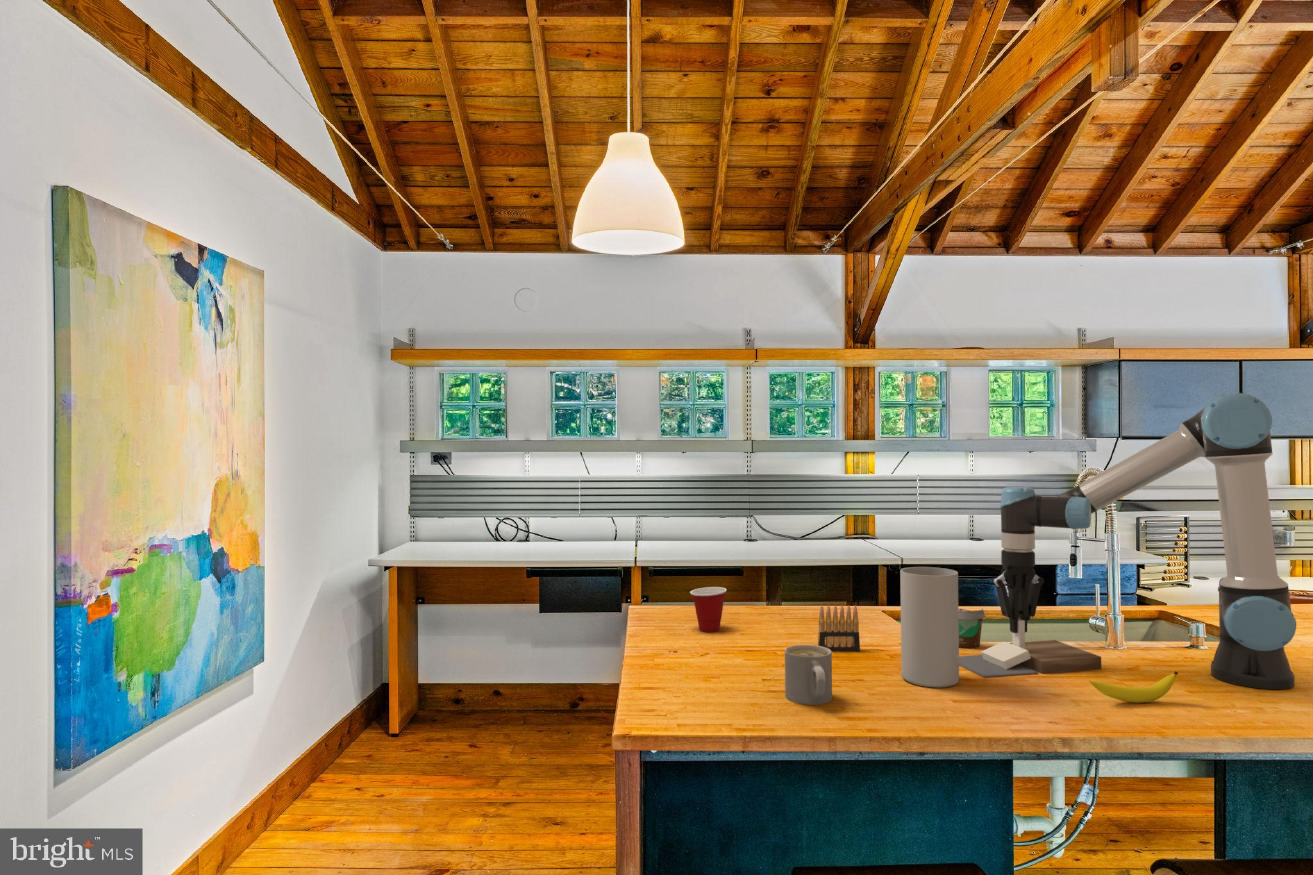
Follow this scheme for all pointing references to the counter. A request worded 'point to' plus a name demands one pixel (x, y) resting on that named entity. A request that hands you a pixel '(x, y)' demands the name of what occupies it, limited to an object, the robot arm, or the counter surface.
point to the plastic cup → (709, 607)
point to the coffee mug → (808, 674)
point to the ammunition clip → (839, 630)
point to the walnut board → (1059, 657)
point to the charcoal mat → (991, 667)
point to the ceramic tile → (1005, 655)
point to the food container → (970, 628)
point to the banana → (1136, 690)
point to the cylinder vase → (929, 626)
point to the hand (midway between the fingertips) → (1018, 645)
